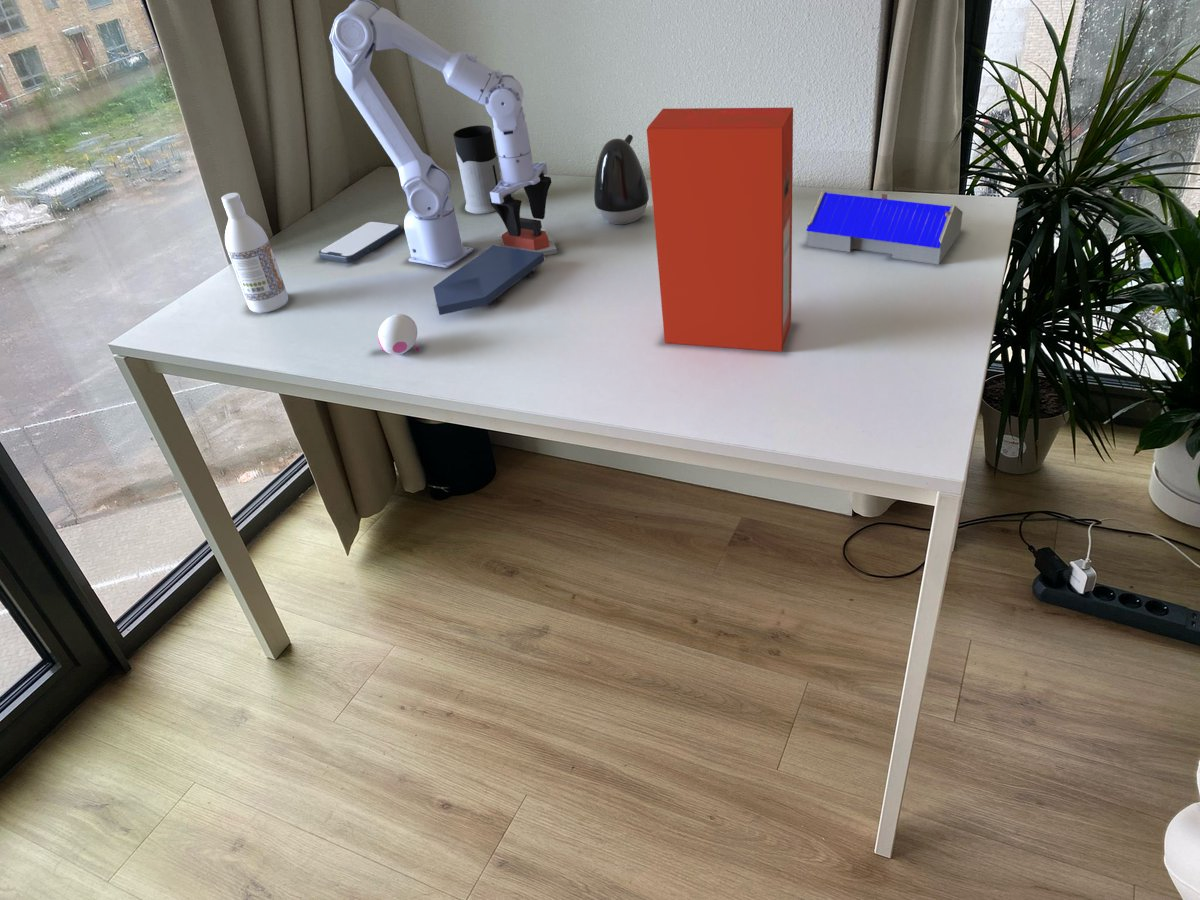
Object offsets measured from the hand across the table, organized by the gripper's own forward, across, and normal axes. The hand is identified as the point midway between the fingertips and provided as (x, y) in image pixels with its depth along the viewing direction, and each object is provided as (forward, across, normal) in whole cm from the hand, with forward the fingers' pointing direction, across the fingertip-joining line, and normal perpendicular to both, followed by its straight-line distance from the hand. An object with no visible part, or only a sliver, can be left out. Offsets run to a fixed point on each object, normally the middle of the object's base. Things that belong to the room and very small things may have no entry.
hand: (527, 226), depth 168 cm
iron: (+4, 0, 0) cm, 4 cm away
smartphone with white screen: (+4, -9, +34) cm, 36 cm away
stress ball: (+4, -38, -1) cm, 38 cm away
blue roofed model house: (+5, +22, -58) cm, 62 cm away
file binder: (+5, -16, -47) cm, 50 cm away
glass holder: (+4, +16, +19) cm, 25 cm away
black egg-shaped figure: (+5, +17, -10) cm, 20 cm away
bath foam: (+4, -34, +33) cm, 48 cm away
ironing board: (+4, -17, -2) cm, 18 cm away
